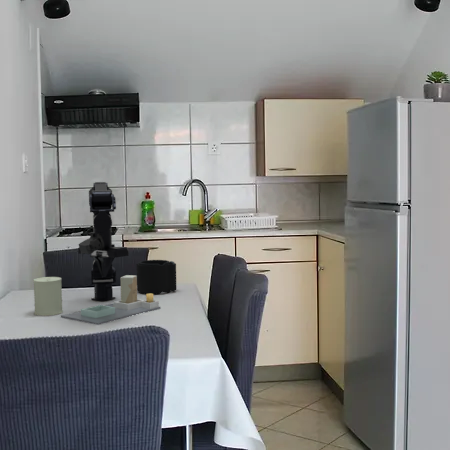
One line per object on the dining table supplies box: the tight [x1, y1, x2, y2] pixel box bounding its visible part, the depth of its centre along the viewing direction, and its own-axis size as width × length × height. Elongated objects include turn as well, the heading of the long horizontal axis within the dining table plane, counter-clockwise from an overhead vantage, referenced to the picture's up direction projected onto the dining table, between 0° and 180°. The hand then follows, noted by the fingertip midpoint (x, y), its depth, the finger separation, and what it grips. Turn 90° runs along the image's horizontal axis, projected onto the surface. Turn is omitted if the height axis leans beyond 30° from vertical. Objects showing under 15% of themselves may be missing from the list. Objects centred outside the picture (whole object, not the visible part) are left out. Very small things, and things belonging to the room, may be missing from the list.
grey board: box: [60, 298, 161, 326], centre depth 204 cm, size 18×28×3 cm, turn 143°
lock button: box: [145, 293, 155, 303], centre depth 209 cm, size 2×2×3 cm
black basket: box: [136, 259, 177, 296], centre depth 241 cm, size 14×15×12 cm
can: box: [32, 276, 64, 317], centre depth 205 cm, size 9×9×12 cm
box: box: [120, 274, 138, 304], centre depth 210 cm, size 5×4×11 cm
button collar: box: [141, 299, 160, 309], centre depth 209 cm, size 4×4×2 cm
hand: (103, 276), depth 200 cm, fingers closed
